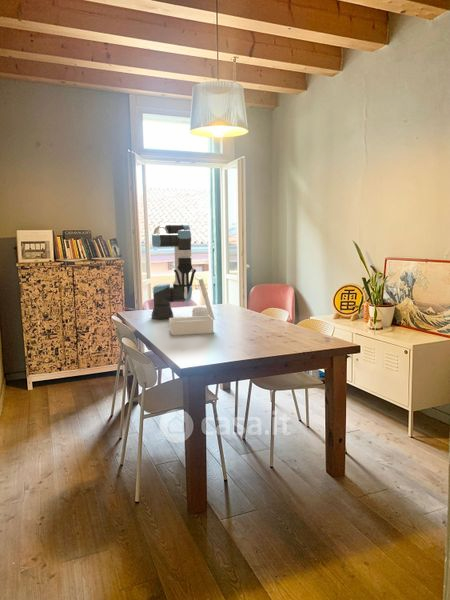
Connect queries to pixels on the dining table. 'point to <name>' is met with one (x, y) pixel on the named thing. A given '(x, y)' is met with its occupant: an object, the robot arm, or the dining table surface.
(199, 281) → the mailer lid
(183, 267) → the robot arm
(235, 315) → the dining table surface
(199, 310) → the photo printer
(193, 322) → the box
